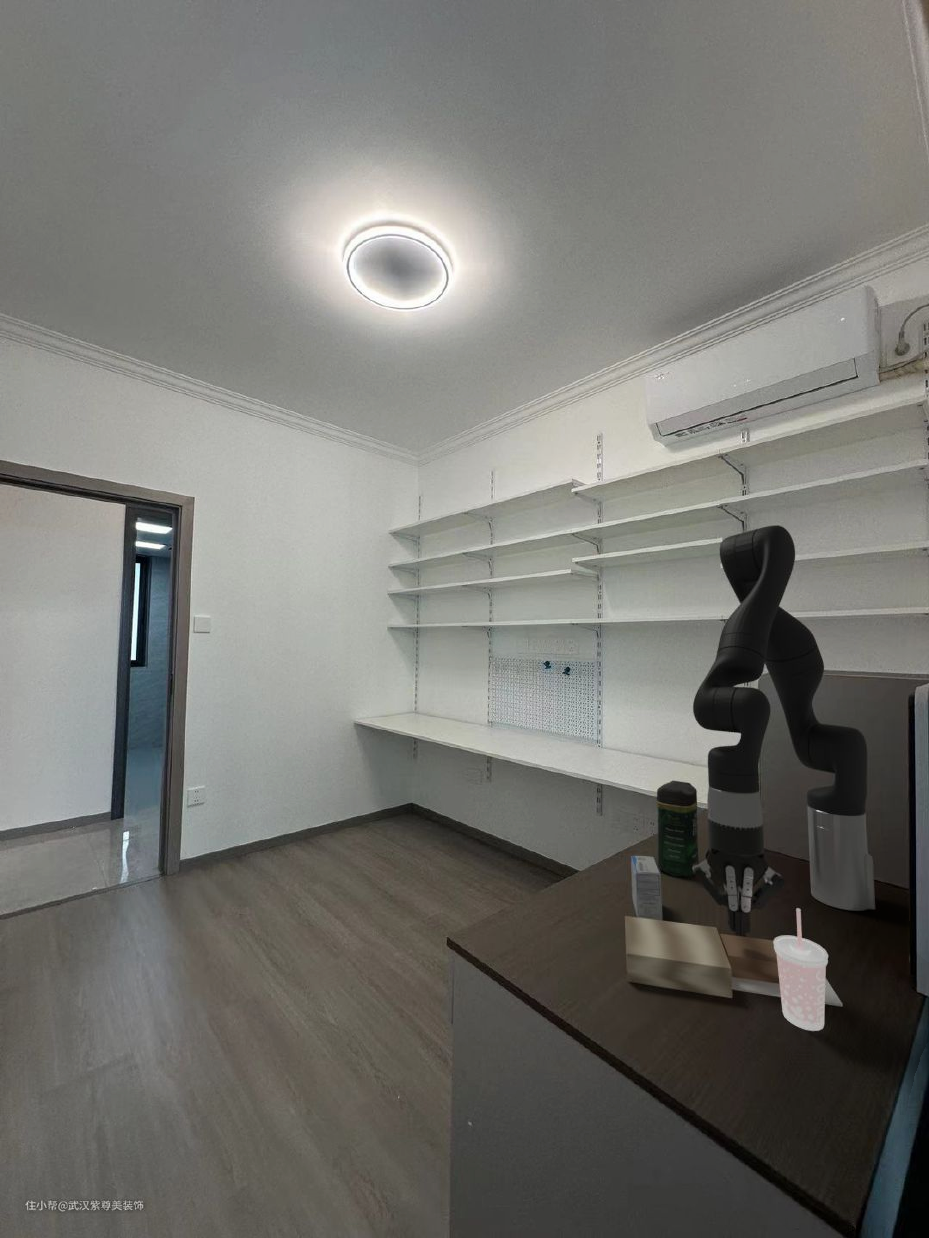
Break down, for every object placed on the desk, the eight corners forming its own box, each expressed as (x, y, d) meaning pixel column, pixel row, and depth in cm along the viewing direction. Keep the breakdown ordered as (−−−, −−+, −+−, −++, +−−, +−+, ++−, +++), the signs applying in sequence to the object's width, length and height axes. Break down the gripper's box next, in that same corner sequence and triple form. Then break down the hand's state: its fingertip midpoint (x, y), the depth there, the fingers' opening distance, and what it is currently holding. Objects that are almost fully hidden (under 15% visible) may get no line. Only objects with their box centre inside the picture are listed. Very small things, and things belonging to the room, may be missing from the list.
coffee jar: (693, 881, 108) (690, 791, 109) (654, 872, 113) (651, 785, 114) (703, 865, 116) (700, 781, 117) (666, 857, 121) (663, 776, 122)
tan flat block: (717, 953, 83) (716, 927, 83) (732, 998, 72) (731, 968, 73) (625, 940, 87) (624, 915, 87) (627, 981, 76) (626, 953, 76)
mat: (817, 967, 79) (817, 965, 79) (842, 1006, 71) (842, 1004, 71) (717, 953, 83) (717, 951, 83) (729, 988, 74) (729, 986, 74)
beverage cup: (804, 1039, 65) (799, 923, 66) (765, 1006, 71) (761, 900, 72) (843, 1030, 66) (838, 917, 67) (802, 998, 72) (797, 895, 73)
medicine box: (663, 923, 92) (661, 873, 92) (636, 921, 93) (635, 871, 93) (655, 902, 100) (654, 856, 100) (631, 900, 101) (630, 854, 101)
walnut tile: (784, 961, 80) (783, 941, 80) (798, 986, 74) (797, 964, 74) (720, 953, 83) (719, 933, 83) (729, 976, 77) (728, 955, 77)
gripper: (775, 812, 82) (780, 926, 81) (685, 806, 85) (688, 915, 84) (791, 829, 74) (796, 954, 73) (691, 821, 78) (695, 940, 77)
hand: (738, 933), depth 79 cm, fingers closed
